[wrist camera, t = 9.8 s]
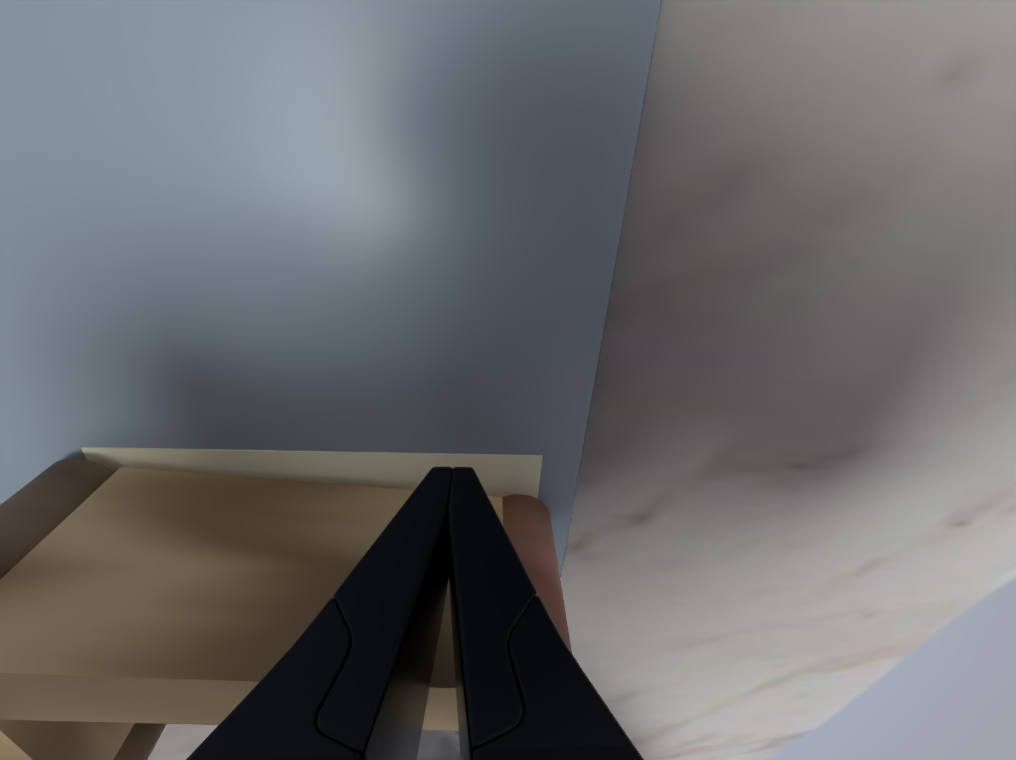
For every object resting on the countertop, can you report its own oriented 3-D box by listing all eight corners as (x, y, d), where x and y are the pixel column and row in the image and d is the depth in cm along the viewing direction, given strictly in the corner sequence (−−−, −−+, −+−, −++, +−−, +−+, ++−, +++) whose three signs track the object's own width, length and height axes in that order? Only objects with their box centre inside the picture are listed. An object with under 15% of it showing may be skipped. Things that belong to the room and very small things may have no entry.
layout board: (545, 642, 16) (547, 655, 16) (17, 646, 15) (5, 659, 15) (685, -187, 6) (699, -209, 6) (-863, -352, 5) (-970, -390, 5)
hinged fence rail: (62, 510, 11) (-248, 792, 6) (35, 455, 10) (-346, 733, 6) (543, 543, 12) (576, 798, 8) (556, 496, 12) (602, 752, 7)
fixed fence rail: (218, 648, 15) (107, 865, 10) (162, 648, 15) (26, 867, 10) (156, 518, 12) (-37, 748, 7) (84, 518, 12) (-154, 751, 7)
